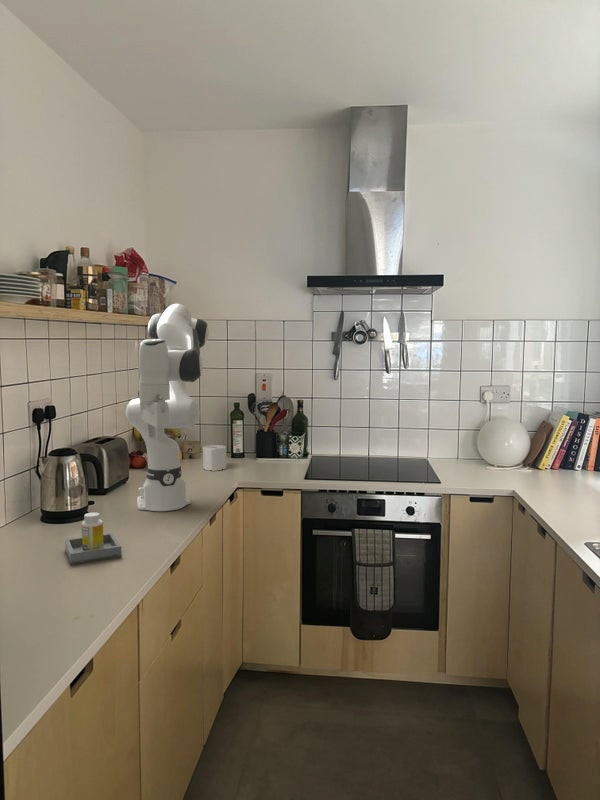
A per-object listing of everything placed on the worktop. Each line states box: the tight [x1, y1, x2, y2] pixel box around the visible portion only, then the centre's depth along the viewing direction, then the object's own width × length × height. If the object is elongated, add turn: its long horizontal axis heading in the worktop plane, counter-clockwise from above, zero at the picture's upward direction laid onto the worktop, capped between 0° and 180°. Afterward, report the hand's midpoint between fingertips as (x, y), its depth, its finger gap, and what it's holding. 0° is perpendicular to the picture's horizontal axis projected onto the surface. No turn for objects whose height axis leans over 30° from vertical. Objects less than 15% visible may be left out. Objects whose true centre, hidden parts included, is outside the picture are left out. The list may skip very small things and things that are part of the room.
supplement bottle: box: [81, 512, 104, 551], centre depth 167 cm, size 6×6×10 cm
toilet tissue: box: [202, 444, 227, 472], centre depth 277 cm, size 11×12×10 cm
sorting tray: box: [64, 532, 123, 566], centre depth 167 cm, size 13×13×3 cm
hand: (155, 439), depth 181 cm, fingers open, 8 cm apart
